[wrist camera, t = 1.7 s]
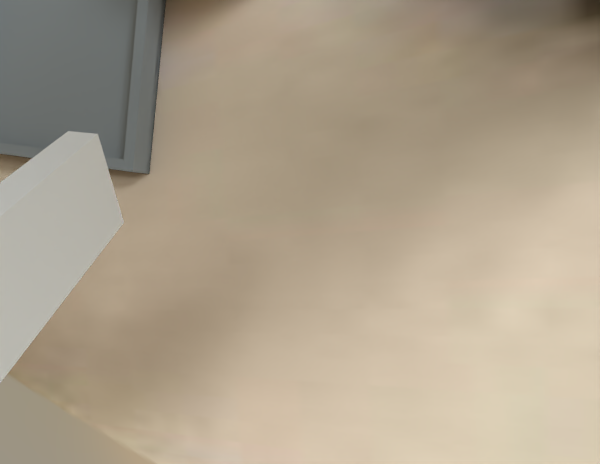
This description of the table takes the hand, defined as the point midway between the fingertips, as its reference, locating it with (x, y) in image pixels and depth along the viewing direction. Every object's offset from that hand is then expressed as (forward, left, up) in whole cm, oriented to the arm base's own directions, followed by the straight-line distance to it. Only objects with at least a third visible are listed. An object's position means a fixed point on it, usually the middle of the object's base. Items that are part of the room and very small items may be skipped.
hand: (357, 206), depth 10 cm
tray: (-10, -31, -25) cm, 41 cm away
